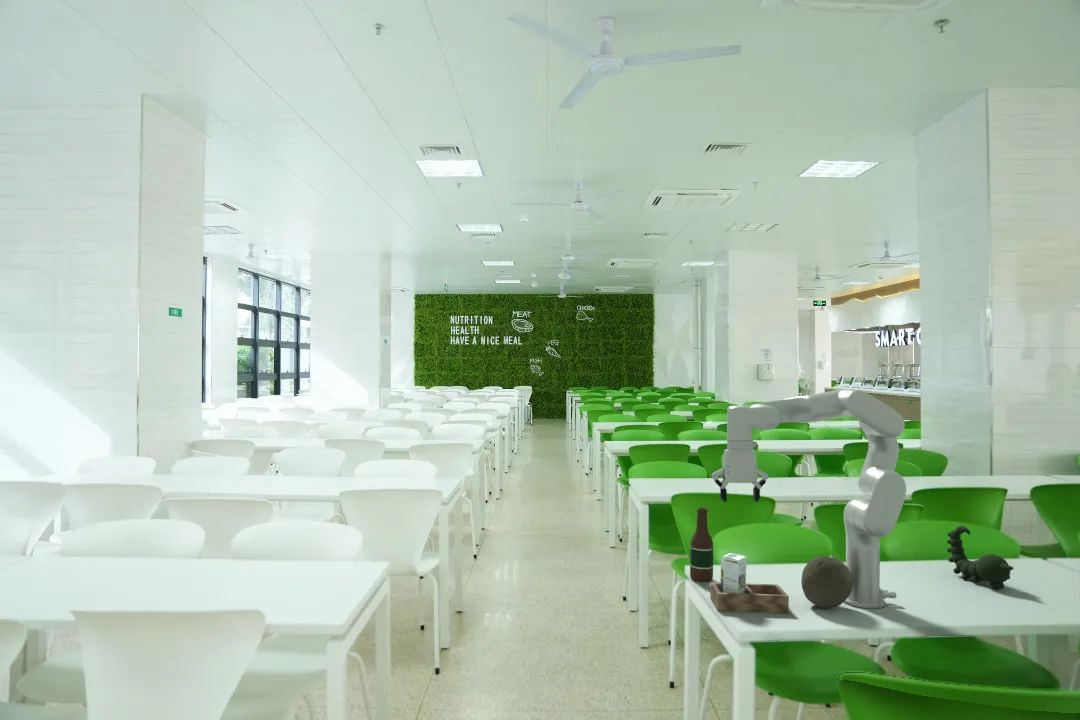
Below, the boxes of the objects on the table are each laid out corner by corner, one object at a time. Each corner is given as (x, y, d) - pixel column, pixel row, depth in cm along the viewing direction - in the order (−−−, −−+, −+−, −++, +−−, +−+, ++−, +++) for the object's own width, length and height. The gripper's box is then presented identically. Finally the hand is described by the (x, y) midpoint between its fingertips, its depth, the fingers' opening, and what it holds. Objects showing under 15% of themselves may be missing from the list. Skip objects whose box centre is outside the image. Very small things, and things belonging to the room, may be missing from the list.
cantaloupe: (835, 619, 194) (836, 566, 194) (791, 605, 206) (792, 555, 206) (861, 609, 203) (862, 559, 203) (818, 596, 214) (818, 548, 214)
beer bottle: (685, 576, 232) (686, 506, 233) (704, 574, 235) (705, 505, 235) (698, 583, 225) (699, 511, 225) (717, 581, 228) (718, 509, 228)
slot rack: (777, 600, 209) (777, 584, 209) (788, 613, 198) (788, 596, 199) (710, 598, 210) (710, 582, 211) (717, 610, 200) (717, 593, 200)
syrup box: (727, 599, 209) (728, 552, 209) (746, 603, 205) (746, 555, 205) (719, 604, 204) (720, 556, 205) (738, 608, 201) (739, 559, 201)
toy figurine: (942, 578, 241) (1002, 595, 216) (938, 524, 243) (998, 534, 218) (964, 577, 243) (1027, 593, 218) (961, 523, 245) (1023, 533, 220)
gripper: (764, 444, 213) (764, 499, 212) (708, 444, 213) (709, 498, 213) (771, 447, 205) (772, 503, 205) (714, 447, 206) (714, 503, 205)
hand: (740, 501), depth 209 cm, fingers open, 9 cm apart
